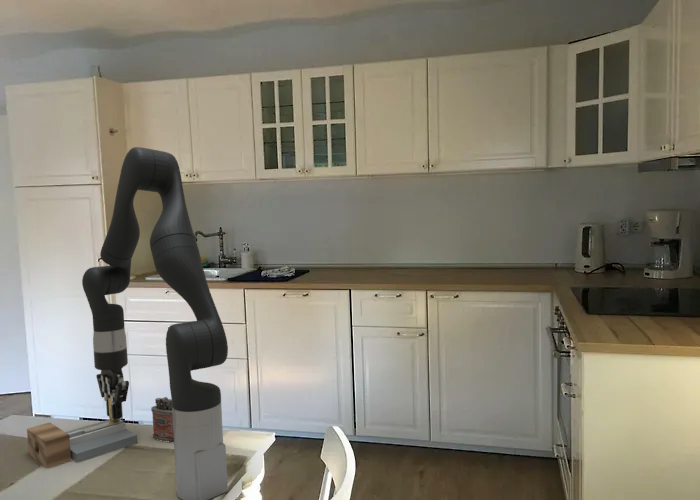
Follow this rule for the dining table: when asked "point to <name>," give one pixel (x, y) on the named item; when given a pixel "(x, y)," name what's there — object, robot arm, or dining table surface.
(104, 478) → the dining table surface
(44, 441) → the jamb keeper
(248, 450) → the dining table surface
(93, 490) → the dining table surface
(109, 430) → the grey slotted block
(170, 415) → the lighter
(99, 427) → the bolt
